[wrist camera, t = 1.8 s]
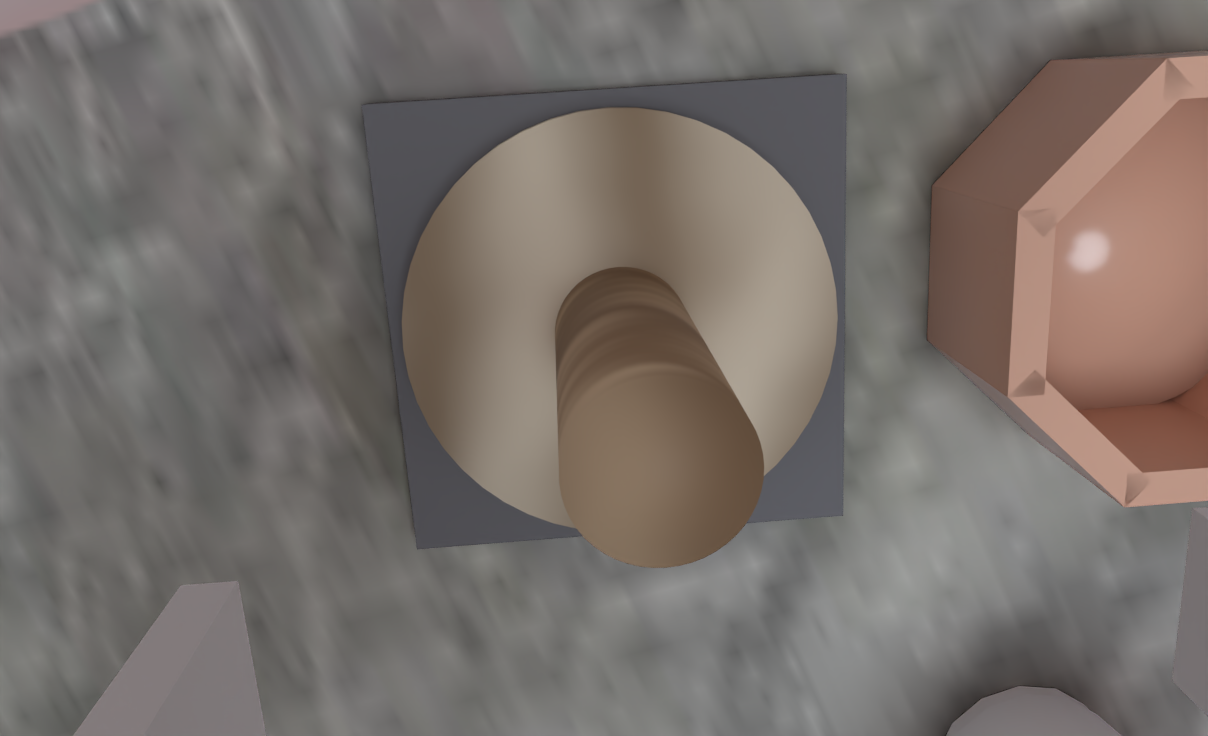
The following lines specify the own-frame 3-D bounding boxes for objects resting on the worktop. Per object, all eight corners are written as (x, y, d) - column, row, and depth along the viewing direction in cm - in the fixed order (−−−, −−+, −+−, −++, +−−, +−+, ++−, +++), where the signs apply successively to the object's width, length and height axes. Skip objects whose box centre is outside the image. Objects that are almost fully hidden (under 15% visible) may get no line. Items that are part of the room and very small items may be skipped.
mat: (420, 535, 34) (416, 549, 33) (367, 103, 30) (361, 104, 29) (834, 503, 34) (843, 515, 33) (837, 73, 30) (846, 74, 29)
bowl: (923, 441, 34) (1000, 517, 28) (935, 67, 30) (1026, 66, 25) (1273, 414, 34) (1419, 483, 29) (1323, 42, 31) (1501, 36, 25)
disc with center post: (430, 533, 33) (367, 784, 21) (381, 121, 29) (272, 155, 18) (828, 502, 33) (976, 732, 22) (829, 93, 30) (1010, 108, 18)
